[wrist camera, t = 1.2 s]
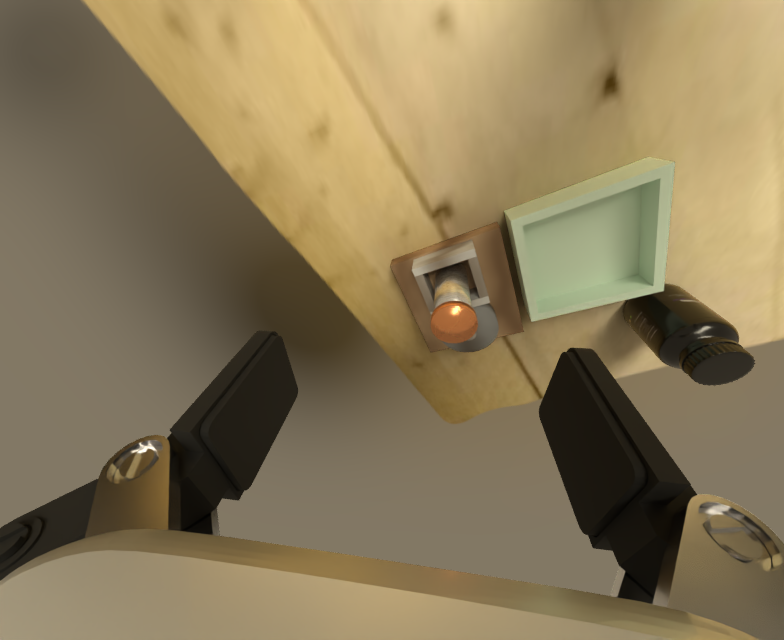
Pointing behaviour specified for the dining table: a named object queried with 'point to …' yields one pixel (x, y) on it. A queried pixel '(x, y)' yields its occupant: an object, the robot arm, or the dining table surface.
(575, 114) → the dining table surface
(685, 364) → the supplement bottle
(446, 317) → the jar with copper lid
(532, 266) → the tray
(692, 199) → the dining table surface
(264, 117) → the dining table surface
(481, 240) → the wooden stand
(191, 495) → the robot arm
